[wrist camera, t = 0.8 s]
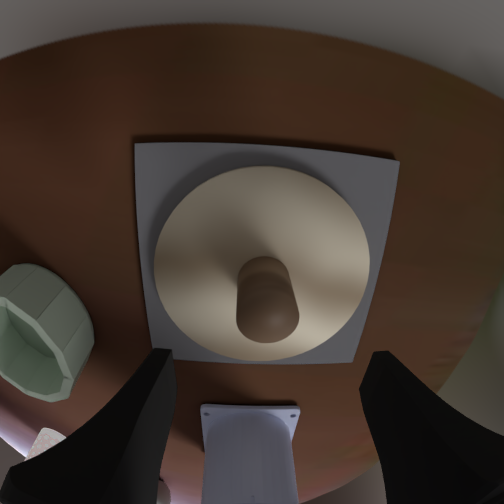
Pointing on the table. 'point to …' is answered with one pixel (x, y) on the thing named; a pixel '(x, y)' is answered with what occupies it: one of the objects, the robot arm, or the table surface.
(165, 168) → the mat
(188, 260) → the board
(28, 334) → the bowl
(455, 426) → the robot arm
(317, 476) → the table surface
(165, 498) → the plastic bottle
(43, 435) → the beverage cup
